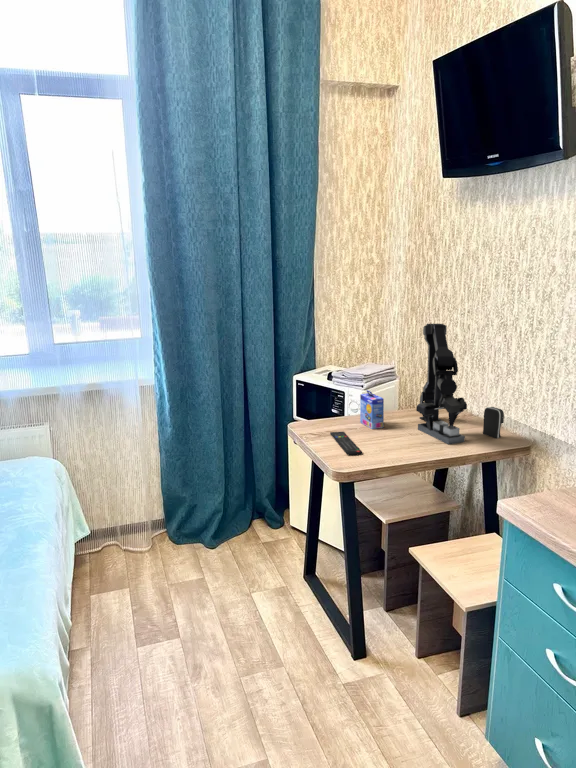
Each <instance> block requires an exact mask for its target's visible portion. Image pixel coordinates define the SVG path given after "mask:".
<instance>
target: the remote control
mask: <svg viewBox="0 0 576 768" xmlns="http://www.w3.org/2000/svg"><path fill="white" fill-rule="evenodd" d="M329 435H330V436H331V437H332V438H333V440H335V442H336V443H337V444H338V445H339V447H340V448H341V449H342V450H343V452H344V453H345V455H347V456H349V457H350V456H353V457H355V456H356V457H357V456H360V455H363V451H362V450H361V449H360V448H359V447H358V446H357V444H356V443H355V442H354V441H353V440H352V439H351V438H350V437H349V435H347V434H346V432H345V431H344V430H343V431H330V433H329Z"/></svg>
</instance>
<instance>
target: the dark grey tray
mask: <svg viewBox="0 0 576 768" xmlns="http://www.w3.org/2000/svg"><path fill="white" fill-rule="evenodd" d="M417 430H418V431H420V432H421V433H424V434H426V435H428V436H430V437H432V438H434V439H436V440H438V441H441V442H442V443H444V444H446V445H448V446H449V445H455V444H456V445H457V444H461V443H465V437H466V436H465V435H463V434H461V433H459V437H453V438H448V437H446V436H444V435H443V432H442V433H438V432H436V431H434V430H433V422H432V430H431V431H430V430H429V429H428V426H427V424H426V422H424V423H418V424H417Z"/></svg>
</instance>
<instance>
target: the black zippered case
mask: <svg viewBox="0 0 576 768" xmlns="http://www.w3.org/2000/svg"><path fill="white" fill-rule="evenodd" d="M504 419H505V412H504V410H503V409H502V408H498V407H494V406H488V407H486V408H484V412H483V424H482V425H483V427H482V434H483V435H485V436H487V437H491V438H493V439H500V438H501V437H502V436H501V426H502V424H504V421H505V420H504Z"/></svg>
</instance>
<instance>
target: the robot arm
mask: <svg viewBox="0 0 576 768" xmlns="http://www.w3.org/2000/svg"><path fill="white" fill-rule="evenodd" d="M447 328H448V327H447V325H445V324H443V323H426V324H425V325H423V328H422V335H423V338H424V341H425V342H426V344H427V346H428V347H427V375H426V377H427V378H426V382H425V383H424V386H423V387H422V392H421V394H420V397H419V403H418V404H416V412H417V413H419V414H420V415H421V416H419V419H421V420H422V421H424V422H425V423H426V424H427V426H428V429H429V430H430V431H431V430H432V422H436V421H442V418H440V411H439V410H444V409H445V410H446V412H447V413H448V423H449V426H451V425H453V426H454V424H455V422H456V420H457V418H458V416H459V415H460V414H461V413H463V412H464V411H466V410H467V409H468V404H467V402H466V401H465V398H464V397H458V398H457V397H454V394H455V392H456V391H457V388H458V385H457V382H456V381H455V380H454V379H453V377H454V376H457V375H458V372H459V367H458V361H457V359H456V357H455V356H454V352H453V351H452V350H450V349H449V346H448V345H449V344H448V341H447Z"/></svg>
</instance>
